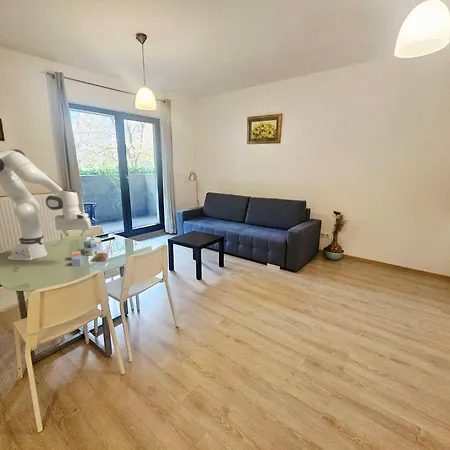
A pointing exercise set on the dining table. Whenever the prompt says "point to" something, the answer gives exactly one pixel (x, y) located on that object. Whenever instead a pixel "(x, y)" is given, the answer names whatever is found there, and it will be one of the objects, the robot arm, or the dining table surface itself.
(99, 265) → the tile
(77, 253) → the terracotta block
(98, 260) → the walnut block
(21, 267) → the dining table surface
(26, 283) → the dining table surface
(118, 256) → the dining table surface
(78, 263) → the slate block
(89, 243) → the light bulb box
